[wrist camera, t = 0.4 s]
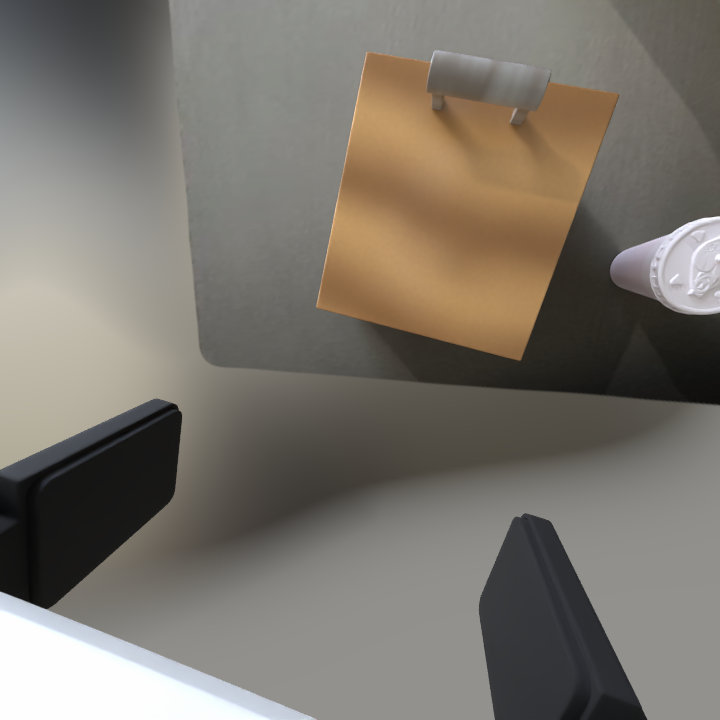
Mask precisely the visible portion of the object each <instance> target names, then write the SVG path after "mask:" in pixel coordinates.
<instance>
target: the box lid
mask: <svg viewBox="0 0 720 720" xmlns="http://www.w3.org/2000/svg"><path fill="white" fill-rule="evenodd" d="M550 76H551V69H548V68H542V67H536V66H530V65H524V64H518V63H511V62H505V61H499V60H493V59H487V58H481V57H475V56H469V55H462V54H456V53H450V52H444V51H438V50H435V52H434V54H433V57H432V60H431V62H426V61H420V60H414V59H408V58H402V57H396V56H390V55H384V54H378V53H372V52H367V53H366V57H365V62H364V67H363V73H362V78H361V83H360V88H359V93H358V98H357V103H356V108H355V113H354V118H353V124H352V129H351V134H350V139H349V144H348V149H347V154H346V159H345V164H344V169H343V175H342V180H341V185H340V190H339V195H338V200H337V205H336V210H335V215H334V221H333V226H332V231H331V236H330V241H329V246H328V251H327V256H326V261H325V266H324V272H323V277H322V282H321V287H320V292H319V297H318V302H317V308H319V309H322V310H326V311H330V312H334V313H338V314H341V315H345V316H349V317H353V318H357V319H361V320H364V321H368V322H372V323H376V324H380V325H383V326H387V327H391V328H395V329H399V330H403V331H406V332H410V333H414V334H418V335H422V336H425V337H429V338H433V339H437V340H441V341H445V342H448V343H452V344H456V345H460V346H464V347H468V348H471V349H475V350H479V351H483V352H487V353H490V354H494V355H498V356H502V357H506V358H510V359H513V360H517V361H521V359H522V356H523V354H524V351H525V348H526V346H527V343H528V340H529V338H530V335H531V332H532V329H533V327H534V324H535V321H536V319H537V316H538V313H539V311H540V308H541V305H542V302H543V300H544V297H545V294H546V292H547V289H548V286H549V284H550V281H551V278H552V276H553V273H554V270H555V267H556V265H557V262H558V259H559V257H560V254H561V251H562V249H563V246H564V243H565V241H566V238H567V235H568V232H569V230H570V227H571V224H572V222H573V219H574V216H575V214H576V211H577V208H578V205H579V203H580V200H581V197H582V195H583V192H584V189H585V187H586V184H587V181H588V179H589V176H590V173H591V170H592V168H593V165H594V162H595V160H596V157H597V154H598V152H599V149H600V146H601V144H602V141H603V138H604V135H605V133H606V130H607V127H608V125H609V122H610V119H611V117H612V114H613V111H614V108H615V106H616V103H617V100H618V98H619V94H617V93H611V92H605V91H599V90H593V89H587V88H581V87H575V86H569V85H563V84H557V83H551V82H549V80H550Z"/></svg>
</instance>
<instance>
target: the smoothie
mask: <svg viewBox="0 0 720 720" xmlns="http://www.w3.org/2000/svg"><path fill="white" fill-rule="evenodd" d="M610 276H611V279H612V281H613V282H614V283H615V284H616V285H617V286H618V287H620V288H623V289H626V290H629V291H632V292H635V293H638V294H641V295H644V296H647V297H650V298H652V299H655V300H658V301H660V302H661V303H662V304H663V305H664V306H666V307H668V308H670V309H672V310H674V311H675V312H680V313H685V314H698V315H707V314H715V313H719V312H720V216H719V217H712V218H703V219H699V220H696V221H693V222H689V223H687V224H686V225H684V226H682V227H680V228H678V229H677V230H675V231H674V232H673V233H672V234H669V235H666V236H663V237H660V238H658V239H655V240H652V241H649V242H646V243H644V244H641V245H638V246H635V247H632V248H629V249H627V250H624V251H623V252H621V253H620V254H618V255H617V256H616V257H615V259H614V260H613V262H612V264H611V267H610Z"/></svg>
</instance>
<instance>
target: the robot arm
mask: <svg viewBox="0 0 720 720" xmlns="http://www.w3.org/2000/svg"><path fill="white" fill-rule="evenodd" d="M181 423H182V413H181V412H180V411H179V410H178V406H177V405H176V404H173V403H170V402H167V401H164V400H160V399H153V400H151V401H149V402H146V403H144V404H142V405H140V406H137V407H135V408H133V409H131V410H129V411H127V412H125V413H122V414H120V415H118V416H116V417H114V418H112V419H109V420H107V421H105V422H103V423H101V424H98V425H96V426H94V427H92V428H90V429H88V430H85V431H83V432H81V433H79V434H77V435H75V436H73V437H70V438H68V439H66V440H64V441H62V442H59V443H57V444H55V445H53V446H51V447H49V448H46V449H44V450H42V451H40V452H38V453H36V454H33V455H31V456H29V457H27V458H25V459H23V460H21V461H18V462H16V463H14V464H12V465H10V466H8V467H5V468H3V469H1V470H0V720H317V719H315V718H313V717H310V716H308V715H305V714H303V713H301V712H298V711H296V710H293V709H290V708H288V707H286V706H283V705H281V704H279V703H276V702H274V701H271V700H269V699H266V698H264V697H261V696H259V695H256V694H254V693H252V692H249V691H247V690H244V689H242V688H239V687H237V686H234V685H232V684H229V683H227V682H225V681H222V680H220V679H217V678H215V677H212V676H210V675H208V674H205V673H203V672H200V671H198V670H195V669H193V668H190V667H188V666H185V665H183V664H181V663H178V662H175V661H173V660H171V659H168V658H166V657H163V656H161V655H158V654H156V653H153V652H151V651H148V650H146V649H143V648H141V647H139V646H136V645H134V644H131V643H129V642H126V641H123V640H121V639H119V638H116V637H114V636H111V635H109V634H106V633H104V632H101V631H98V630H96V629H94V628H91V627H89V626H86V625H84V624H81V623H79V622H76V621H74V620H71V619H69V618H66V617H64V616H61V615H58V614H56V613H54V612H51V611H48V610H46V609H48V608H50V607H51V606H53V605H54V604H56V603H57V602H58V601H59V600H60V599H61V598H62V597H64V595H66V594H67V593H68V592H69V591H70V590H71V589H72V588H74V587H75V586H76V585H77V584H78V583H79V582H80V581H82V580H83V579H84V578H85V577H86V576H87V575H88V574H89V573H90V572H92V571H93V570H94V569H95V568H96V567H97V566H98V565H99V564H101V563H102V562H103V561H104V560H105V559H106V558H107V557H109V556H110V555H111V554H112V553H113V552H114V551H115V550H116V549H118V548H119V547H120V546H121V545H122V544H123V543H124V542H125V541H127V540H128V539H129V538H130V537H131V536H132V535H133V534H134V533H136V532H137V531H138V530H139V529H140V528H141V527H142V526H143V525H144V524H146V523H147V522H148V521H149V520H150V519H151V518H152V517H154V516H155V515H156V514H157V513H158V512H159V511H160V510H161V509H163V508H164V507H165V506H166V505H167V504H168V503H169V502H170V500H171V499H172V497H173V495H174V492H175V484H176V474H177V464H178V454H179V443H180V434H181V433H180V432H181ZM479 615H480V622H481V629H482V635H483V642H484V649H485V655H486V662H487V669H488V676H489V683H490V689H491V696H492V702H493V709H494V716H495V720H647V718H646V716H645V714H644V712H643V710H642V707H641V705H640V703H639V700H638V698H637V696H636V695H635V692H634V690H633V688H632V686H631V684H630V682H629V680H628V678H627V676H626V674H625V672H624V670H623V668H622V666H621V664H620V662H619V660H618V658H617V656H616V654H615V652H614V650H613V648H612V646H611V644H610V641H609V639H608V637H607V636H606V633H605V631H604V629H603V627H602V625H601V623H600V621H599V619H598V617H597V615H596V613H595V611H594V609H593V607H592V605H591V603H590V601H589V598H588V597H587V594H586V592H585V590H584V588H583V586H582V584H581V582H580V580H579V578H578V576H577V574H576V572H575V570H574V568H573V566H572V564H571V562H570V560H569V558H568V556H567V554H566V552H565V550H564V547H563V545H562V543H561V541H560V540H559V537H558V535H557V533H556V531H555V529H554V527H553V525H552V523H551V522H550V521H549V520H546V519H543V518H539V517H536V516H533V515H530V514H526V513H525V514H523V515H522V516H521V518H520V517H515V518H514V519H513V521H512V523H511V526H510V528H509V531H508V533H507V535H506V538H505V540H504V542H503V545H502V547H501V549H500V552H499V554H498V556H497V559H496V561H495V564H494V566H493V568H492V571H491V573H490V575H489V578H488V580H487V583H486V585H485V587H484V590H483V592H482V595H481V597H480V602H479Z"/></svg>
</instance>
